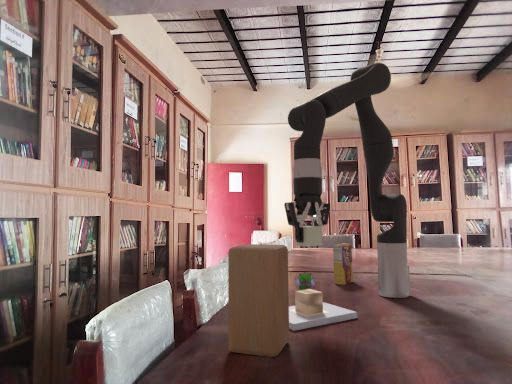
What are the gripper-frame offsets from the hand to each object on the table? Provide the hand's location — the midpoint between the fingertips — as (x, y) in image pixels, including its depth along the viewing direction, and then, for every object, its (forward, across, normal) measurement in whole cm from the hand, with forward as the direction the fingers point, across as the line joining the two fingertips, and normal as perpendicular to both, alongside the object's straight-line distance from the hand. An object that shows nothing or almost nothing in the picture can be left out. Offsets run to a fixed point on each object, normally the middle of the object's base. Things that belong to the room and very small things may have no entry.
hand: (308, 241), depth 94 cm
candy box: (+20, +43, +32) cm, 57 cm away
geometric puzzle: (+20, +20, +27) cm, 39 cm away
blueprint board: (+19, 0, 0) cm, 19 cm away
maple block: (+18, 0, 0) cm, 18 cm away
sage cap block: (+1, 0, 0) cm, 1 cm away
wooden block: (+20, -22, -12) cm, 32 cm away
